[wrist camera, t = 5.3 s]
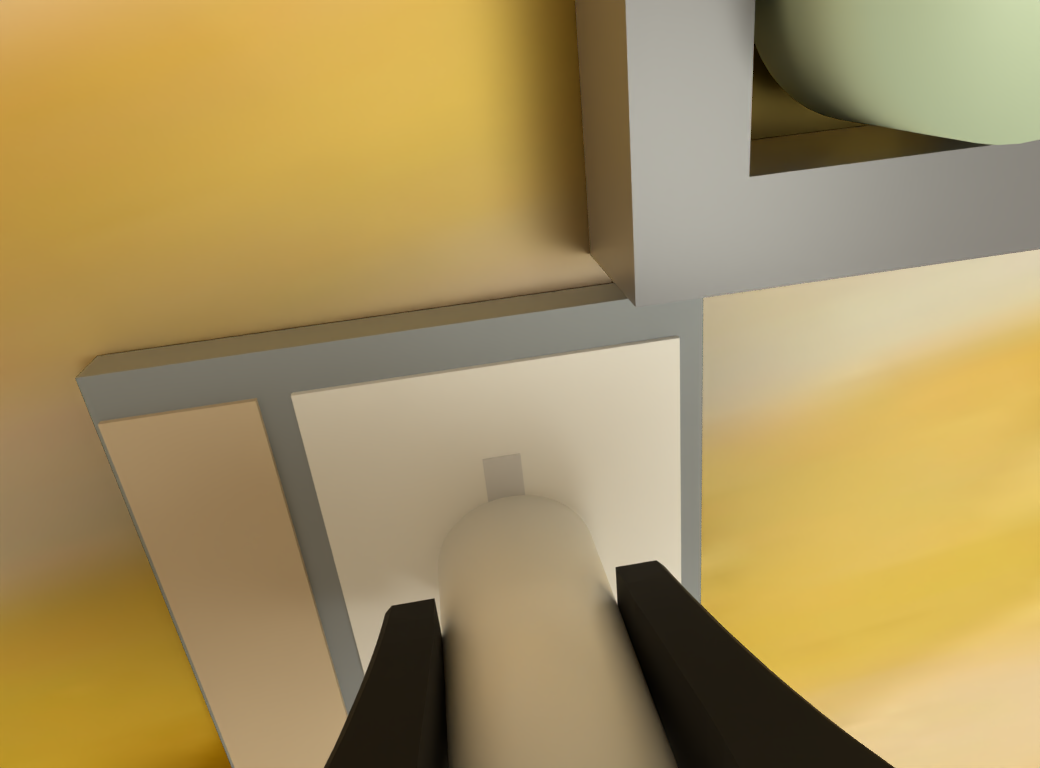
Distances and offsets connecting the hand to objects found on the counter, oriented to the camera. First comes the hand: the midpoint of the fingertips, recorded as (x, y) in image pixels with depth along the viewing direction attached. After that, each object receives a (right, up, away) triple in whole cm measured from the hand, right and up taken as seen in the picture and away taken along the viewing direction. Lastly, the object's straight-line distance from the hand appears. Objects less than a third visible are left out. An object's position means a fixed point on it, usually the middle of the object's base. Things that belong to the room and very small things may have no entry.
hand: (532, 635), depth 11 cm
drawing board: (-1, -1, +3) cm, 4 cm away
